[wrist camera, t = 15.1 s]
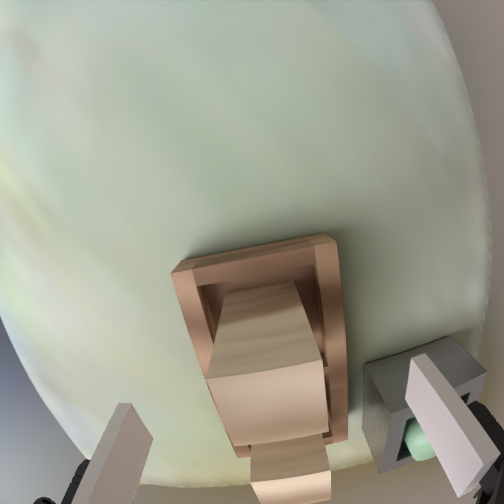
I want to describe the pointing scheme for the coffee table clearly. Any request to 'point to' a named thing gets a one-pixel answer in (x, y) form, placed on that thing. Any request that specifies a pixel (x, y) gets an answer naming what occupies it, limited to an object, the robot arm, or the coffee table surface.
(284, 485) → the seated billet
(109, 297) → the coffee table surface
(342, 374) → the wooden divided tray
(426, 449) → the button
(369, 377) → the grey square bin
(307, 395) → the billet
